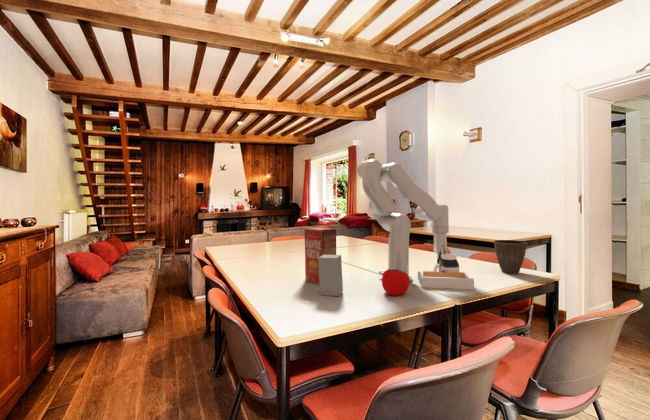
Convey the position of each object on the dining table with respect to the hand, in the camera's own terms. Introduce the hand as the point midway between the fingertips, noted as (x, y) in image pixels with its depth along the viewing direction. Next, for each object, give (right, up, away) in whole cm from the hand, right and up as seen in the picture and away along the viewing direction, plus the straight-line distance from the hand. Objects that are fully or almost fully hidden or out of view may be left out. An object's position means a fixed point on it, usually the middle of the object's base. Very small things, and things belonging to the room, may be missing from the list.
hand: (440, 266), depth 159 cm
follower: (-3, -5, -12) cm, 13 cm away
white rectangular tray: (-3, -5, -12) cm, 14 cm away
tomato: (-28, -6, -28) cm, 40 cm away
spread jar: (0, -5, -6) cm, 7 cm away
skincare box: (-55, -6, -28) cm, 62 cm away
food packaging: (-59, -6, -7) cm, 60 cm away
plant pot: (+38, -4, +8) cm, 39 cm away
